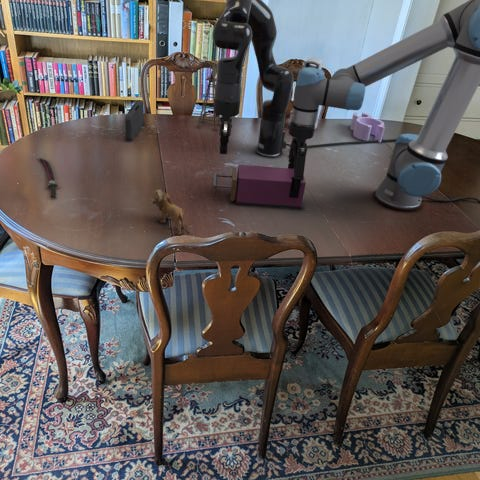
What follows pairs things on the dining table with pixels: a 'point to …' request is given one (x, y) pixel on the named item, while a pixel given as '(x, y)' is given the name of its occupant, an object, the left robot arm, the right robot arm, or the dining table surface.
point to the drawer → (233, 186)
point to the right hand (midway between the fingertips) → (291, 189)
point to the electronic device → (319, 66)
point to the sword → (52, 181)
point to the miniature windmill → (210, 79)
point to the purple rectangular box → (267, 187)
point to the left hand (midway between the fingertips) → (223, 153)
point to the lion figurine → (169, 209)
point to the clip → (366, 127)
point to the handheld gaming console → (134, 120)
